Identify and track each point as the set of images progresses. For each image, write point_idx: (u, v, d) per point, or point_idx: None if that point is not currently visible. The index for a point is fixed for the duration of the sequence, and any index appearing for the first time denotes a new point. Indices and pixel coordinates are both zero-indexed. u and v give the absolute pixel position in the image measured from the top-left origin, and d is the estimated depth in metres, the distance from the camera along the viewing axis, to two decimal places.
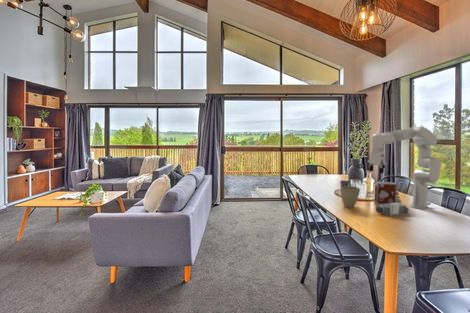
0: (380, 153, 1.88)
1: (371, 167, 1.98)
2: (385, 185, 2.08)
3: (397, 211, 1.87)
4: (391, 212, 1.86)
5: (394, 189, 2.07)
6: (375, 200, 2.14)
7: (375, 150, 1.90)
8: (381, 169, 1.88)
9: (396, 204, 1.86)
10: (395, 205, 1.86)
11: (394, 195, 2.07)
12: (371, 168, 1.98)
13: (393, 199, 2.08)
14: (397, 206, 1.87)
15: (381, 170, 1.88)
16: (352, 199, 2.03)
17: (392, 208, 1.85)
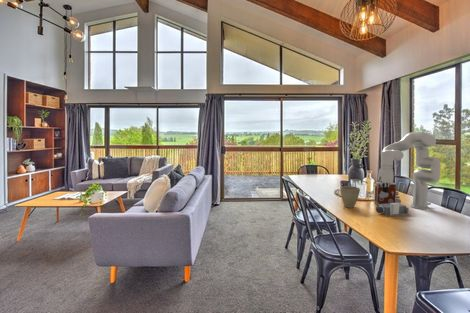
0: None
1: None
2: None
3: (397, 211, 1.87)
4: (391, 212, 1.86)
5: (394, 189, 2.07)
6: (375, 200, 2.14)
7: (392, 168, 1.79)
8: None
9: (396, 204, 1.86)
10: (395, 205, 1.86)
11: (394, 195, 2.07)
12: None
13: (393, 199, 2.08)
14: (397, 206, 1.87)
15: None
16: (352, 199, 2.03)
17: (392, 208, 1.85)
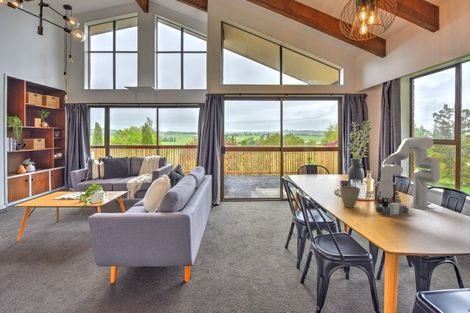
0: None
1: None
2: None
3: (397, 211, 1.87)
4: (391, 212, 1.86)
5: (394, 189, 2.07)
6: (375, 200, 2.14)
7: None
8: None
9: (396, 204, 1.86)
10: (395, 205, 1.86)
11: (394, 195, 2.07)
12: None
13: (393, 199, 2.08)
14: (397, 206, 1.87)
15: None
16: (352, 199, 2.03)
17: (392, 208, 1.85)
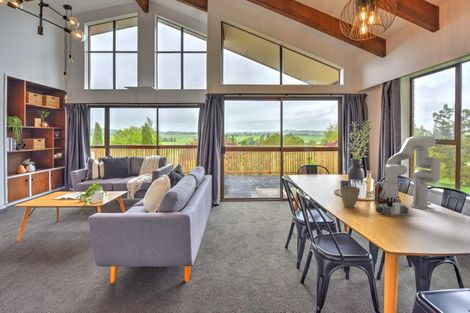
0: None
1: None
2: None
3: (398, 211, 1.87)
4: (392, 212, 1.86)
5: None
6: (375, 200, 2.14)
7: (396, 183, 1.81)
8: None
9: (397, 204, 1.86)
10: (396, 205, 1.86)
11: None
12: None
13: None
14: (398, 206, 1.87)
15: None
16: (352, 199, 2.03)
17: (393, 208, 1.85)
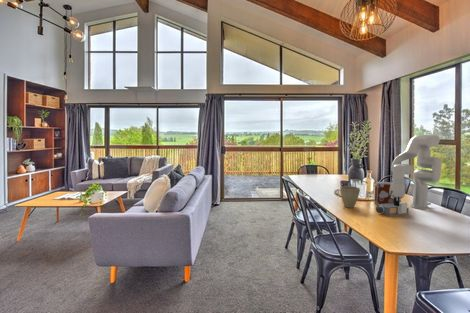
0: None
1: None
2: (385, 185, 2.08)
3: (405, 210, 1.89)
4: (399, 211, 1.88)
5: None
6: (375, 200, 2.14)
7: (403, 182, 1.83)
8: None
9: (404, 203, 1.88)
10: (403, 204, 1.88)
11: None
12: None
13: None
14: (405, 205, 1.88)
15: None
16: (352, 199, 2.03)
17: (400, 207, 1.87)
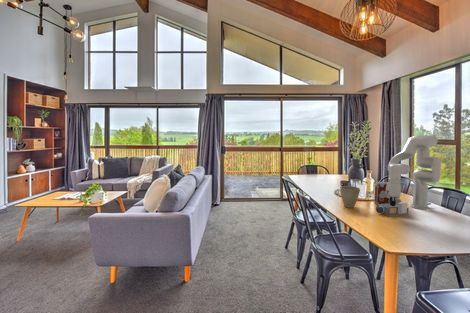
0: None
1: None
2: (385, 185, 2.08)
3: (405, 210, 1.89)
4: (399, 211, 1.88)
5: None
6: (375, 200, 2.14)
7: (399, 182, 1.82)
8: None
9: (404, 203, 1.88)
10: (403, 204, 1.88)
11: None
12: None
13: None
14: (405, 205, 1.88)
15: None
16: (352, 199, 2.03)
17: (400, 207, 1.87)
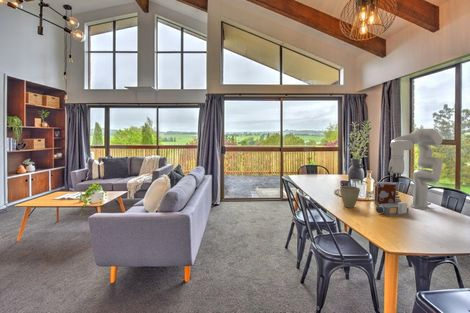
0: None
1: None
2: (385, 185, 2.08)
3: (405, 210, 1.89)
4: (399, 211, 1.88)
5: (394, 189, 2.07)
6: (375, 200, 2.14)
7: None
8: None
9: (404, 203, 1.88)
10: (403, 204, 1.88)
11: (394, 195, 2.07)
12: None
13: (393, 199, 2.08)
14: (405, 205, 1.88)
15: None
16: (352, 199, 2.03)
17: (400, 207, 1.87)
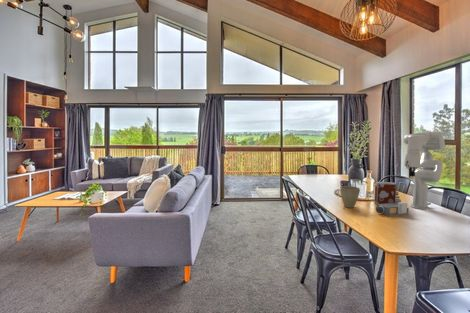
0: None
1: None
2: (385, 185, 2.08)
3: (405, 210, 1.89)
4: (399, 211, 1.88)
5: (394, 189, 2.07)
6: (375, 200, 2.14)
7: (419, 152, 1.83)
8: None
9: (404, 203, 1.88)
10: (403, 204, 1.88)
11: (394, 195, 2.07)
12: None
13: (393, 199, 2.08)
14: (405, 205, 1.88)
15: None
16: (352, 199, 2.03)
17: (400, 207, 1.87)
